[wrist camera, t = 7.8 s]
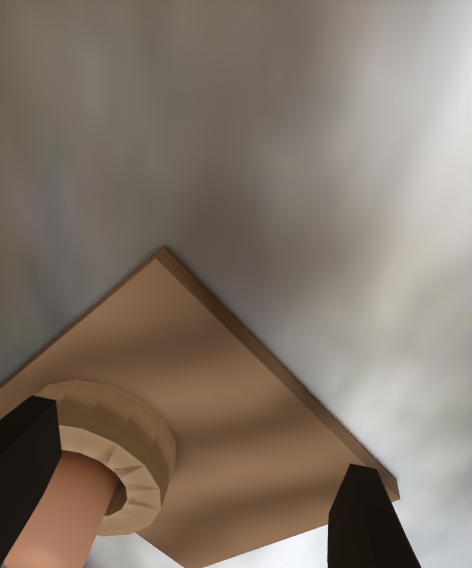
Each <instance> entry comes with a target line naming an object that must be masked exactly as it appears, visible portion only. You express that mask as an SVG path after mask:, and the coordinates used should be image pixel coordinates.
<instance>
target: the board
mask: <svg viewBox="0 0 472 568" xmlns="http://www.w3.org/2000/svg"><path fill="white" fill-rule="evenodd" d="M70 380H82V381H89V382H96V383H103V384H108V385H110V386H113V387H115V388H117V389H119V390H122V391H124V392H126V393H128V394H131V395H133V396H135V397H137V398H139V399H140V400H141V401H143V402H144V403H145V404H146V405H147V406H149V407H150V408H151V409H152V410H153V411H155V412H156V413H157V414H158V415H159V416H160V417H162V418H163V420H164V422H165V423H166V425H167V427H168V429H169V430H170V432H171V434H172V436H173V437H174V439H175V445H176V463H175V466H174V469H173V473H172V476H171V479H170V482H169V485H168V489H167V492H166V495H165V498H164V502H163V505H162V508H161V510H160V512H159V513H158V515H157V516H156V517H155V519H154V520H153V522H152V523H151V525H150V526H147V527H145V528H143V529H141V530H138V531H136V532H135V533H136V534H138V535H139V536H141V537H142V538H143V539H145V540H146V541H148V542H149V543H150V544H152V545H153V546H155V547H156V548H157V549H159V550H160V551H162V552H163V553H164V554H166V555H167V556H169V557H170V558H171V559H173V560H174V561H176V562H177V563H178V564H180V565H181V566H183V567H184V568H203V567H206V566H209V565H212V564H215V563H218V562H220V561H223V560H226V559H229V558H232V557H235V556H238V555H241V554H244V553H246V552H249V551H252V550H255V549H258V548H261V547H264V546H267V545H269V544H272V543H275V542H278V541H281V540H284V539H287V538H290V537H293V536H295V535H298V534H301V533H304V532H307V531H310V530H313V529H316V528H318V527H321V526H324V525H327V524H328V517H329V511H330V509H331V507H332V504H333V502H334V500H335V497H336V495H337V493H338V490H339V488H340V486H341V483H342V481H343V479H344V476H345V474H346V472H347V469H348V467H349V465H350V463H352V464H356V465H361V466H366V467H370V468H375V469H377V471H378V472H379V474H380V476H381V479H382V481H383V484H384V486H385V488H386V491H387V493H388V496H389V498H390V500H391V502H393V501H396V500H399V499H400V495H399V490H398V485H397V480H396V479H395V478H394V477H393V476H392V475H391V474H390V473H389V472H388V471H387V470H386V469H385V468H384V467H383V466H382V465H381V464H380V463H379V462H378V461H377V460H376V459H375V458H374V457H373V456H372V455H371V454H370V453H369V452H368V451H367V450H366V449H365V448H364V447H363V446H362V445H361V444H360V443H359V442H358V441H357V440H356V439H355V438H354V437H353V436H352V435H351V434H350V433H349V432H348V431H347V430H346V429H345V428H344V427H343V426H342V425H341V424H340V423H339V422H338V421H337V420H336V419H335V418H334V417H333V416H332V415H331V414H330V413H329V412H328V411H327V410H326V409H325V408H324V407H323V406H322V405H321V404H320V403H319V402H318V401H317V400H316V399H315V398H314V397H313V396H312V395H311V394H310V393H309V392H308V391H307V390H306V389H305V388H304V387H303V386H302V385H301V384H300V383H299V382H298V381H297V380H296V379H295V378H294V377H293V376H292V375H291V374H290V373H289V372H288V371H287V370H286V369H285V368H284V367H283V366H282V365H281V364H280V363H279V362H278V361H277V360H276V359H275V358H274V357H273V356H272V355H271V354H270V353H269V352H268V351H267V350H266V349H265V348H264V347H263V346H262V345H261V344H260V343H259V342H258V341H257V340H256V339H255V338H254V337H253V336H252V335H251V334H250V333H249V332H248V331H247V330H246V329H245V328H244V326H243V325H242V324H241V323H240V322H239V321H238V320H237V319H236V318H235V317H234V316H233V315H232V314H231V313H230V312H229V311H228V310H227V309H226V308H225V307H224V306H223V305H222V304H221V303H220V302H219V301H218V300H217V299H216V298H215V297H214V296H213V295H212V294H211V293H210V292H209V291H208V290H207V289H206V288H205V287H204V286H203V285H202V284H201V283H200V282H199V281H198V280H197V279H196V278H195V277H194V276H193V275H192V274H191V273H190V272H189V271H188V270H187V269H186V268H185V267H184V266H183V265H182V264H181V263H180V262H179V261H178V260H177V259H176V258H175V257H174V256H173V255H172V254H171V253H170V252H169V251H168V250H167V249H166V248H165V247H162V248H161V249H160V250H159V251H158V252H157V253H155V254H154V255H153V256H152V257H151V258H150V259H148V260H147V261H146V262H145V263H144V264H142V265H141V266H140V267H139V268H138V269H137V270H135V271H134V272H133V273H132V274H131V275H129V276H128V277H127V278H126V279H125V280H124V281H122V282H121V283H120V284H119V285H118V286H117V287H115V288H114V289H113V290H112V291H111V292H109V293H108V294H107V295H106V296H105V297H104V298H102V299H101V300H100V301H99V302H98V303H97V304H95V305H94V306H93V307H92V308H91V309H89V310H88V311H87V312H86V313H85V314H84V315H82V316H81V317H80V318H79V319H78V320H76V321H75V322H74V323H73V324H72V325H71V326H69V327H68V328H67V329H66V330H65V331H64V332H62V333H61V334H60V335H59V336H58V337H56V338H55V339H54V340H53V341H52V342H51V343H49V344H48V345H47V346H46V347H45V348H44V349H42V350H41V351H40V352H39V353H38V354H36V355H35V356H34V357H33V358H32V359H31V360H29V361H28V362H27V363H26V364H25V365H23V366H22V367H21V368H20V369H19V370H18V371H16V372H15V373H14V374H13V375H12V376H11V377H9V378H8V379H7V380H6V381H5V382H3V383H2V384H1V385H0V419H1V418H3V417H4V416H5V415H7V414H8V413H9V412H10V411H12V410H13V409H14V408H16V407H17V406H18V405H19V404H21V403H22V402H23V401H25V400H26V399H27V398H28V397H30V396H32V395H36V394H37V393H38V392H40V391H41V390H42V389H43V388H45V387H46V386H47V385H50V384H55V383H60V382H65V381H70Z"/></svg>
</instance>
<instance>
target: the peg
mask: <svg viewBox="0 0 472 568" xmlns="http://www.w3.org/2000/svg"><path fill="white" fill-rule="evenodd" d="M119 479H120V478H119V476H118V475H117V474H116V473H115V472H114V471H112V470H111V469H110V468H108V467H107V466H106V465H105V464H103V463H102V462H101V461H98V460H96V459H94V458H91V457H89V456H87V455H84V454H82V453H79V452H73V451H66V450H62V456H61V458H60V460H59V462H58V465H57V467H56V469H55V471H54V474H53V476H52V478H51V480H50V482H49V484H48V486H47V488H46V491H45V493H44V495H43V497H42V498H41V500H40V502H39V503H38V505H37V507H36V509H35V510H34V512H33V514H32V515H31V517H30V519H29V520H28V522H27V524H26V525H25V527H24V529H23V530H22V532H21V534H20V535H19V537H18V539H17V540H16V542H15V543H14V545H13V547H12V548H11V550H10V552H9V553H8V555H7V557H6V558H5V560H4V564H5V565H6V566H7V567H8V568H83V566H84V563H85V561H86V558H87V556H88V554H89V551H90V549H91V546H92V544H93V542H94V539H95V537H96V534H97V532H98V530H99V527H100V525H101V522H102V520H103V518H104V515H105V513H106V510H107V508H108V506H109V503H110V501H111V498H112V496H113V493H114V491H115V489H116V486H117V484H118V481H119Z"/></svg>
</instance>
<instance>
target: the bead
mask: <svg viewBox="0 0 472 568" xmlns="http://www.w3.org/2000/svg"><path fill="white" fill-rule="evenodd" d="M34 396H39V397H43V398H48V399H53V400H56V404H57V413H58V422H59V431H60V440H61V449H62V450H66V451H73V452H79V453H82V454H84V455H87V456H89V457H91V458H94V459H96V460H98V461H101V462H102V463H103V464H105V465H106V466H107V467H108V468H110V469H111V470H112V471H114V472H115V473H116V474H117V475H118V476H119V478H120V479H119V481H118V484H117V486H116V489H115V491H114V493H113V496H112V498H111V501H110V503H109V506H108V508H107V510H106V513H105V515H104V518H103V520H102V522H101V525H100V527H99V530H98V532H97V534H96V535H99V536H113V535H128V534H132V533H134V532H136V531H138V530H141V529H143V528H145V527H147V526H150V525H151V523H152V522H153V520H154V519H155V517H156V516H157V515H158V513H159V512H160V510H161V508H162V505H163V502H164V498H165V495H166V492H167V489H168V485H169V482H170V479H171V476H172V473H173V469H174V466H175V463H176V445H175V439H174V437H173V436H172V434H171V432H170V430H169V429H168V427H167V425H166V423H165V422H164V420H163V418H162V417H160V416H159V415H158V414H157V413H156V412H155V411H153V410H152V409H151V408H150V407H149V406H147V405H146V404H145V403H144V402H143V401H141V400H140V399H139V398H137V397H135V396H133V395H131V394H128V393H126V392H124V391H122V390H119V389H117V388H115V387H113V386H110V385H108V384H103V383H96V382H89V381H82V380H70V381H65V382H60V383H55V384H50V385H47V386H46V387H45V388H43V389H42V390H41V391H40V392H38V393H37V394H36V395H34Z"/></svg>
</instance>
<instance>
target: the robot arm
mask: <svg viewBox="0 0 472 568" xmlns="http://www.w3.org/2000/svg"><path fill="white" fill-rule="evenodd" d="M61 456H62V449H61V440H60V431H59V422H58V413H57V404H56V400H53V399H48V398H43V397H39V396H34V395H32V396H30V397H28V398H27V399H26V400H25V401H23V402H22V403H21V404H19V405H18V406H17V407H16V408H14V409H13V410H12V411H10V412H9V413H8V414H7V415H5V416H4V417H3V418H1V419H0V567H1V565H2V563H3V562H4V560H5V558H6V557H7V555H8V553H9V552H10V550H11V548H12V547H13V545H14V543H15V542H16V540H17V539H18V537H19V535H20V534H21V532H22V530H23V529H24V527H25V525H26V524H27V522H28V520H29V519H30V517H31V515H32V514H33V512H34V510H35V509H36V507H37V505H38V503H39V502H40V500H41V498H42V497H43V495H44V493H45V491H46V488H47V486H48V484H49V482H50V480H51V478H52V476H53V474H54V471H55V469H56V467H57V465H58V462H59V460H60V458H61ZM327 562H328V568H421V566H420V564H419V562H418V560H417V558H416V556H415V554H414V552H413V549H412V547H411V545H410V543H409V541H408V539H407V537H406V534H405V532H404V530H403V528H402V526H401V523H400V521H399V519H398V517H397V514H396V512H395V510H394V507H393V505H392V503H391V500H390V498H389V496H388V493H387V491H386V488H385V486H384V484H383V481H382V479H381V476H380V474H379V472H378V471H377V469H375V468H370V467H366V466H361V465H356V464H352V463H350V465H349V467H348V469H347V472H346V474H345V476H344V479H343V481H342V483H341V486H340V488H339V490H338V493H337V495H336V497H335V500H334V502H333V504H332V507H331V509H330V511H329V517H328V554H327Z"/></svg>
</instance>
